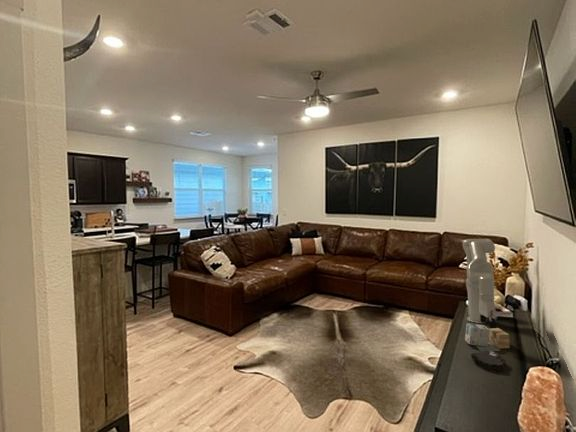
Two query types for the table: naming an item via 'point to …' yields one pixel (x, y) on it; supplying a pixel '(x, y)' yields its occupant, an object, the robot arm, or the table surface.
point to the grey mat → (487, 347)
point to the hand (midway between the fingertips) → (488, 324)
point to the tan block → (499, 338)
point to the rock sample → (489, 361)
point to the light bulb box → (477, 334)
